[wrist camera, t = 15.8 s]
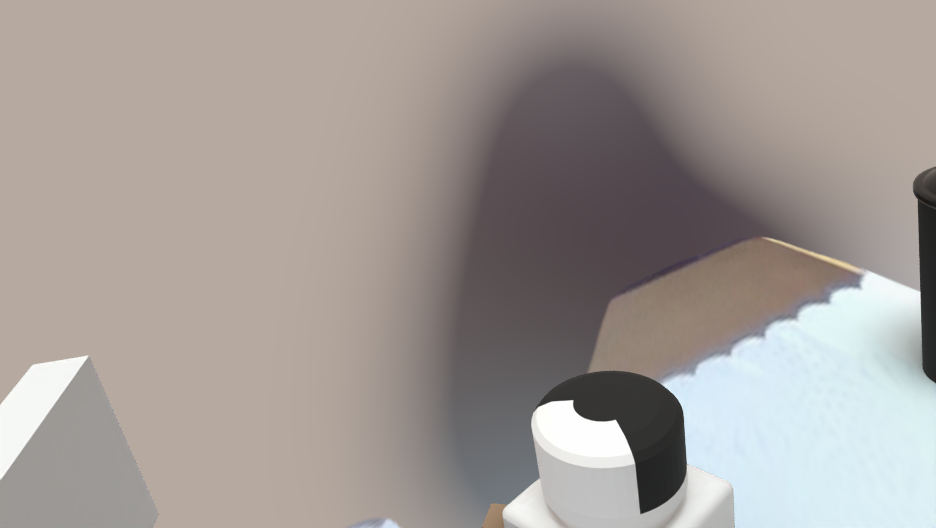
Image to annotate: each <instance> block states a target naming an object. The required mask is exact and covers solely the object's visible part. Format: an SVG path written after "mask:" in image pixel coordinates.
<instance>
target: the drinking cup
mask: <svg viewBox="0 0 936 528" xmlns="http://www.w3.org/2000/svg"><path fill="white" fill-rule="evenodd" d="M913 192H914V195H915V196H916V198H917V199H918V223H919V257H920V291H921V324H922V358H923V370H924V372H925V373H926V375H927V376H928V377H929V378H930V379H932V380H933V381H935V382H936V167H933V168H930V169H928V170H926V171H924V172H922V173H920V174H919V175H918V176H917V177H916V178H915V180H914V182H913Z"/></svg>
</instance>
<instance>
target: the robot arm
mask: <svg viewBox="0 0 936 528" xmlns="http://www.w3.org/2000/svg"><path fill="white" fill-rule="evenodd" d="M158 515H159V513H158V511H157V508H156V506H155V504H154V502H153V500H152V497H151V495H150V492H149V490H148V488H147V486H146V484H145V481H144V479H143V477H142V474H141V472H140V470H139V468H138V466H137V463H136V461H135V458H134V456H133V454H132V452H131V450H130V447H129V445H128V443H127V440H126V438H125V436H124V434H123V431H122V429H121V427H120V425H119V422H118V420H117V418H116V415H115V413H114V411H113V409H112V407H111V404H110V402H109V400H108V397H107V395H106V393H105V391H104V388H103V386H102V384H101V381H100V379H99V377H98V375H97V373H96V370H95V368H94V366H93V363H92V361H91V359H90V357H89V356H83V357H77V358H71V359H65V360H59V361H53V362H47V363H42V364H35V365H32V367H31V368H30V369H29V370H28V371H27V373H26V374H25V375H24V376H23V378H22V379H21V380H20V381H19V383H18V384H17V385H16V386H15V388H14V389H13V390H12V391H11V393H10V394H9V395H8V396H7V397H6V399H5V400H4V401H3V403H2V404H1V405H0V528H153V527H154V524H155V522H156V519H157V517H158Z"/></svg>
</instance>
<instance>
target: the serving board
mask: <svg viewBox="0 0 936 528" xmlns="http://www.w3.org/2000/svg"><path fill="white" fill-rule="evenodd" d="M506 506H507V505H502V504H493V503H492V504H491V506H490V509H489V511H488V513H487V516H486V518H485V521H484V523H483V526H482V528H505V527H504V522H503V515H502V513H503V510H504V508H505V507H506Z"/></svg>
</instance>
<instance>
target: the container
mask: <svg viewBox="0 0 936 528" xmlns="http://www.w3.org/2000/svg"><path fill="white" fill-rule="evenodd" d="M531 426H532V431H533V438H534V444H535V450H536V455H537V462H538V467H539V474H540V478H539V479H538V480H537V481H536V482H535V483H533V484H532V485H531V486H530V487H528V488H527V489H526V490H525V491H524V492H523V493H521V494H520V495H519V496H518V497H517V498H516V499H514V500H513V501H512V502H511V503H510V504H509V505H507V506H506V507H505V508H504V510H503V513H502V515H503V522H504V527H505V528H735V525H734V496H733V488H732V485H731V483H729V482H728V481H725V480H723V479H721V478H719V477H716V476H714V475H712V474H709V473H707V472H705V471H703V470H700V469H698V468H696V467H694V466H691V465H689V464H687V461H686V446H685V431H684V416H683V410H682V407H681V405H680V403H679V401H678V399H677V398H676V397H675V396H674V395H673V394H672V393H671V392H670V391H669V390H668V389H666V388H665V387H664V386H663V385H661V384H660V383H658V382H656V381H655V380H652V379H650V378H648V377H645V376H642V375H639V374H635V373H630V372H623V371H601V372H593V373H588V374H584V375H580V376H577V377H574V378H571V379H569V380H567V381H565V382H563V383H561V384H559V385H558V386H556V387H555V388H553V389H552V390H551V391H550V392H549V393H548V394H547V395H546V396H545V397H544V398H543V399H542V400H541V402H540V403H539V404H538V406H537V407H536V409H535V411H534V413H533V417H532V425H531Z"/></svg>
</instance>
